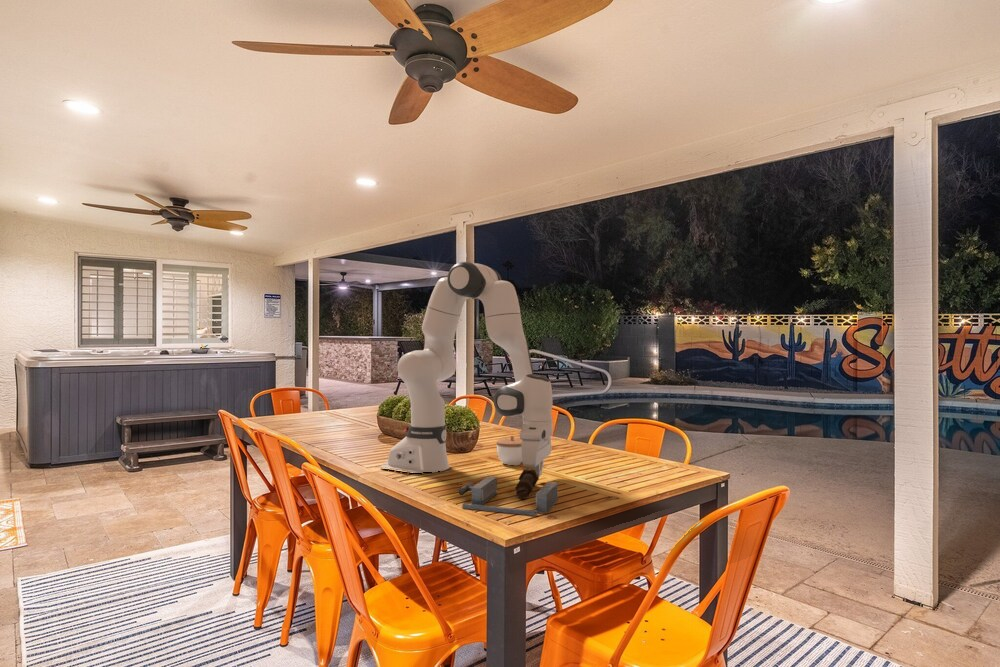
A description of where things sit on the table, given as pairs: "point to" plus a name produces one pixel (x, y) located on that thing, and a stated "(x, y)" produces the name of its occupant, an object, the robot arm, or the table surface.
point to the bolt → (526, 483)
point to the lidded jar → (510, 450)
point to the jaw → (481, 490)
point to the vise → (543, 502)
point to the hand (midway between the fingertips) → (537, 476)
